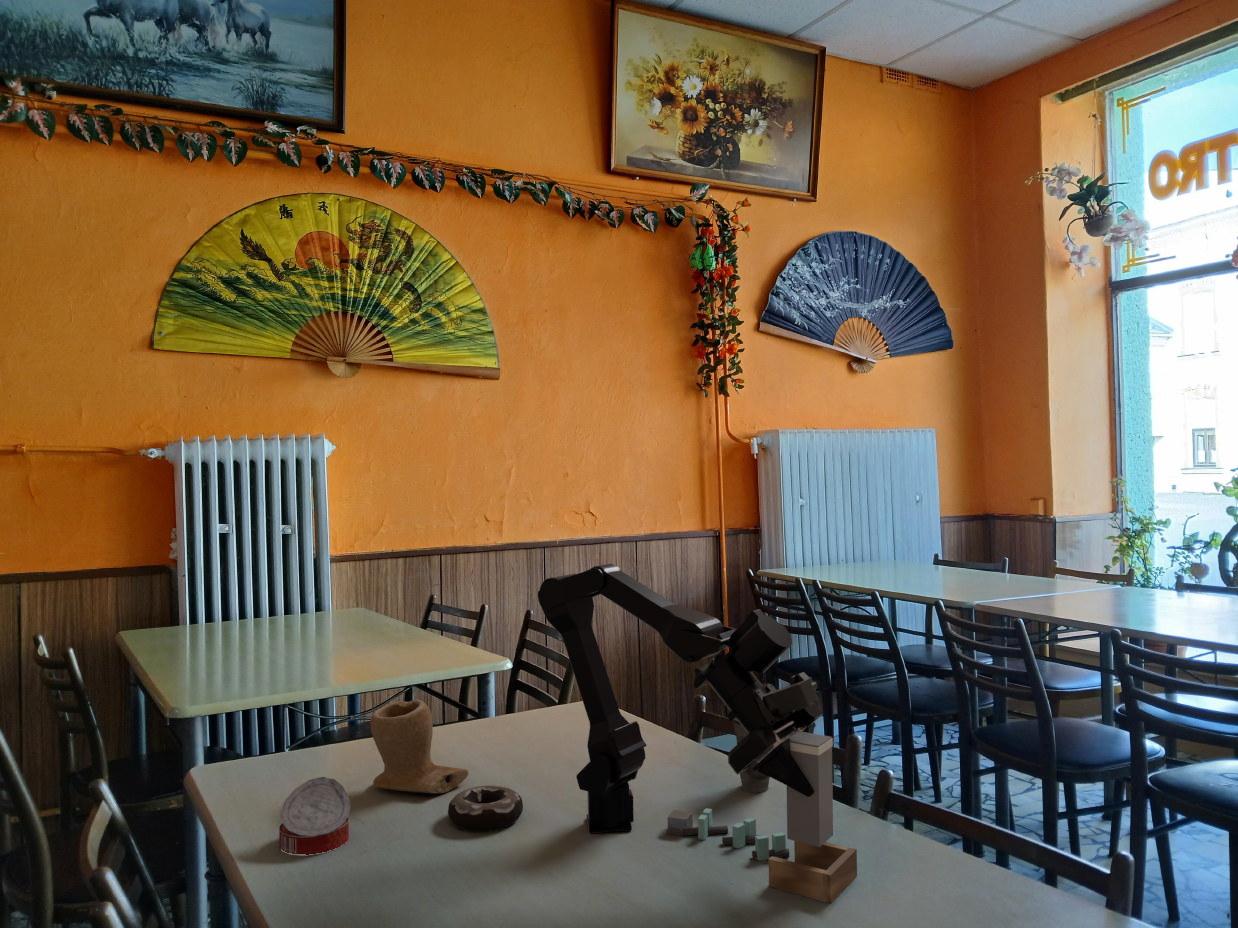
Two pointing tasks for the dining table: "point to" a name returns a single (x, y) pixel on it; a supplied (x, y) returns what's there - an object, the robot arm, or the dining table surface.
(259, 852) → the dining table surface
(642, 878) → the dining table surface
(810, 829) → the tall grey box
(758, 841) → the cable clips
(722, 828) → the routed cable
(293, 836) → the canned food
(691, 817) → the brown grey short block
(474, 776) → the dining table surface
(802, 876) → the end holder
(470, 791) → the donut
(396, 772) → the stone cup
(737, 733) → the beverage cup
